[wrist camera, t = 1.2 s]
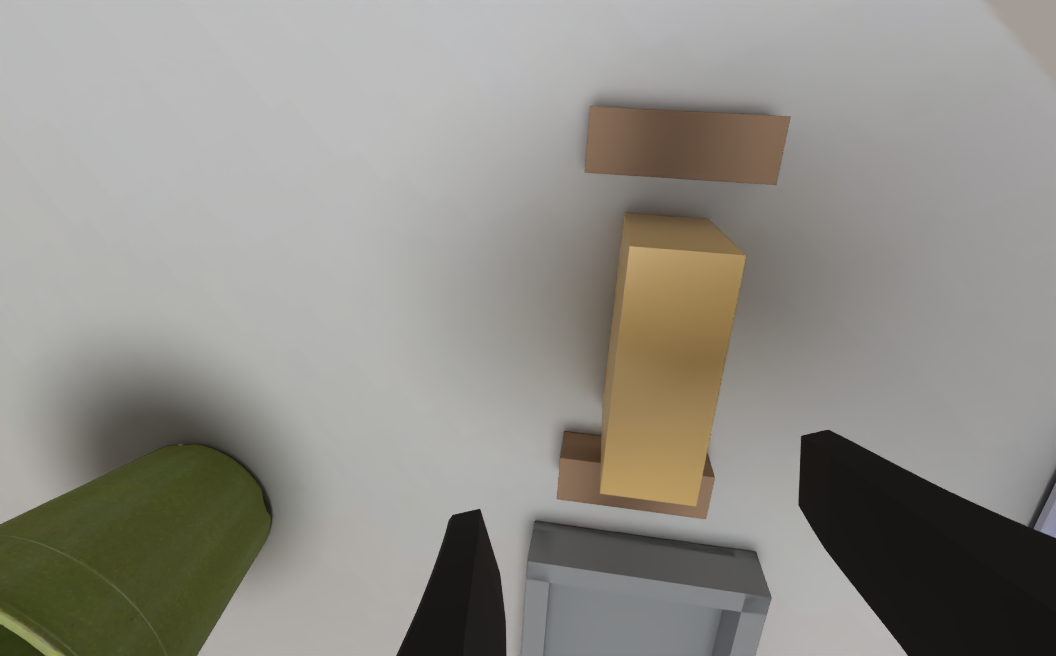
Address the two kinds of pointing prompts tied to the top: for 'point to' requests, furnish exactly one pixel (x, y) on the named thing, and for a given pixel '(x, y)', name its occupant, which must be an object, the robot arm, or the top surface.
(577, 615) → the tray
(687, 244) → the block
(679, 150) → the brown block pair
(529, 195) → the top surface
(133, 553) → the plant pot
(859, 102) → the top surface
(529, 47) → the top surface
